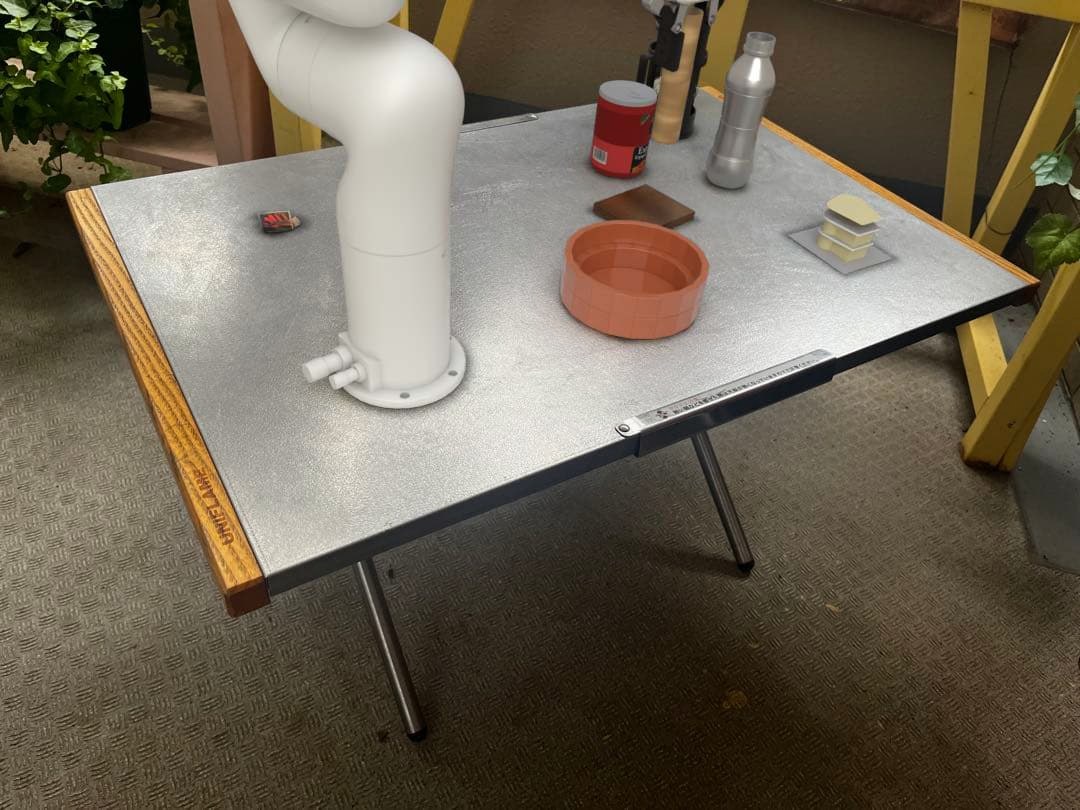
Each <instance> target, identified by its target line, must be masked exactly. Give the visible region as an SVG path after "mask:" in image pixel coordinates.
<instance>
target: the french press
mask: <svg viewBox="0 0 1080 810" xmlns="http://www.w3.org/2000/svg"><path fill="white" fill-rule="evenodd" d="M670 7H671V9H672V11H673V8H674V7H676V5H675V4H671V6H670ZM709 27H710V32H709V35H710V34H711V29H712V26H709ZM654 28H655V30H656V32H658V30H659V26H657V25H656V23H655V24H654ZM656 42H657V39H656V40H653V41H651V42H650V43H649V44H648V47H647V52H644V53H641V54H640V56H639V61H638V66H637V73H636V78H635V79H636V80H635V82H637V83H641V84H644V85H646V86H648V87H650V88H652V89H653V90H655V92H656V93H657V99H658V93H659V88H660V82H661V73H662V67H660V66H658V65H655V64H654V54H655V48H656ZM708 58H709V51H708V50H707V49H706V51H705V56H704V61H703V64H701V65H695V64H694V65H693V70H692V75H691V80H690V85H689V90H688V95H687V100H686V105H685V110H684V115H683V120H682V125H681V130H680V135H679V140H684V139H685V140H686V139H688V138H690V137H691V136H692V135H693V134H694V131H695V127H694V124H695V119H696V114H697V108H696V107H695V106H694V104H695V99H696V98H697V95H698V94H699V91H700V90H699V88H698V84H699V80H700V75H701V70H702V68H704V67H706V65H707V62H708ZM656 105H657V101H656ZM655 111H656V108H655ZM654 116H655V113H654ZM653 122H654V119H653ZM652 128H653V124H652ZM651 134H652V130H651ZM650 137H651V135H650ZM679 140H678V141H679Z"/></svg>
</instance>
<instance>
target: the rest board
mask: <svg viewBox="0 0 1080 810" xmlns="http://www.w3.org/2000/svg"><path fill="white" fill-rule="evenodd" d="M592 212H594V213H595V214H597V215H598V216H600V217H602V218H603V219H605V220H606V221H611V220H634V221H641V222H646V223H652V224H657V225H660V226H662V227H665V228H668V229H671V230H672V229H673V228H676V227H678V226H681V225H684V224H685V223H686V224H687V223H688V222H690V221H693V220H694V218H695V214H696V210H694V209H692V208H690V207H689V206H687V205H684V204H683V203H681V202H680V201H677V200H676V199H674V198H672V197H671V196H669V195H667V194H665V193H664V192H662V191H660V190H658V189H656V188H655V187H652V186H651V185H649V184H647V183H645V184H642V185H639V186H637V187H633V188H630V189H627V190H626V191H622V192H619V193H617V194H614V195H612V196H609V197H607V198H606V197H605V198H604V199H601V200H598V201H595V202H593V205H592Z"/></svg>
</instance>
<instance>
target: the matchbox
mask: <svg viewBox="0 0 1080 810" xmlns="http://www.w3.org/2000/svg"><path fill="white" fill-rule="evenodd" d="M256 217H258V218H257V219H258V221H259V227H260V228H261V230H262V231H263V232H264V233H265V234H266V233H275V232H277V233H278V232H285V231H289V230H293V229H294V227H295V228H296V227H298V226H300V225H301V223H302V222H301V220H300V219H299V218H298V217H297V216H293V217H292V215H291V212H290V210H278V211H273V210H269V211H268V212H262V213H258V214H257V215H256Z"/></svg>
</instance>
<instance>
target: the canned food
mask: <svg viewBox="0 0 1080 810" xmlns="http://www.w3.org/2000/svg"><path fill="white" fill-rule="evenodd" d="M656 101H657V93H656V92H655V90H653V89H652V88H650V87H648V86H646V85H644V84H641V83H637V82H636V81H633V80H623V79H621V80H618V79H617V80H610V81H609V80H608V81H606V82H603V83H602V84H601V85H600V86H599V89H598V95H597V101H596V102H597V103H596V108H595V109H596V110H595V117H594V124H593V134H592V142H591V150H590V164H591V166H592V168H593V169H594V170H595V171H596V172H597V173H599V174H602V175H604V176H607V177H610V178H616V179H631V178H635V177H638V176H639V175H641V174H642V172H643V171H644V169H645V167H646V162H647V155H648V150H649V147H650V146H649V145H650V139H651V136H650V135H651V130H652V124H653V119H654V113H655V108H656Z"/></svg>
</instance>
